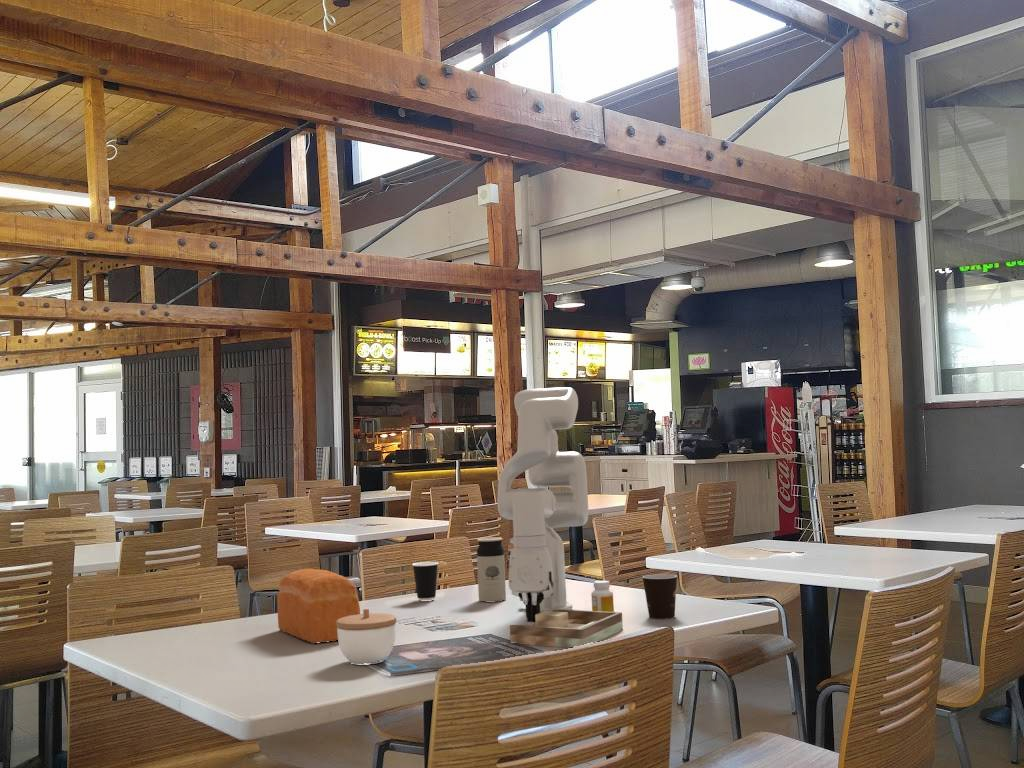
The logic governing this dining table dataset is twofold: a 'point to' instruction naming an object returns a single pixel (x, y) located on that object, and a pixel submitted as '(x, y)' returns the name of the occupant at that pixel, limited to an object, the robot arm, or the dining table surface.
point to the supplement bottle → (602, 597)
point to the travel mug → (491, 569)
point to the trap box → (570, 629)
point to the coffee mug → (660, 595)
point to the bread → (315, 604)
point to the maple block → (552, 619)
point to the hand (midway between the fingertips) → (533, 621)
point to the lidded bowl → (366, 636)
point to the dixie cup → (425, 579)
